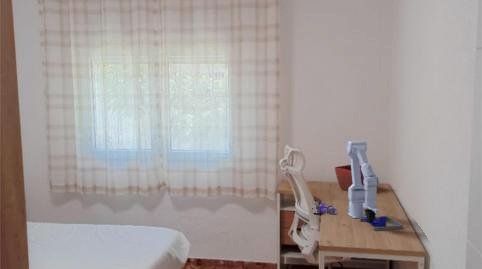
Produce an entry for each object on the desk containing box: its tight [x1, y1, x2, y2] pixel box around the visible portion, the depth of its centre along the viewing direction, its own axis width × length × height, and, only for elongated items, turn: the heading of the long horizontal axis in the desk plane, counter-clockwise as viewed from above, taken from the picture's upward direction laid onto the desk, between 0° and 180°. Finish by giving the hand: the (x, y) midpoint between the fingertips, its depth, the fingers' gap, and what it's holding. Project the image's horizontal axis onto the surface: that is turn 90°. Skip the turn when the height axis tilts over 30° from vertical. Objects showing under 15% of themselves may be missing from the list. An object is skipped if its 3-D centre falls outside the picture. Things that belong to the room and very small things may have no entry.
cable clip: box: [365, 215, 387, 227], centre depth 222 cm, size 12×4×6 cm, turn 16°
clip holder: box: [359, 215, 404, 231], centre depth 222 cm, size 17×16×2 cm
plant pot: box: [334, 164, 364, 192], centre depth 302 cm, size 19×19×17 cm
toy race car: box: [313, 200, 338, 215], centre depth 247 cm, size 10×15×6 cm, turn 83°
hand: (370, 222), depth 221 cm, fingers closed
